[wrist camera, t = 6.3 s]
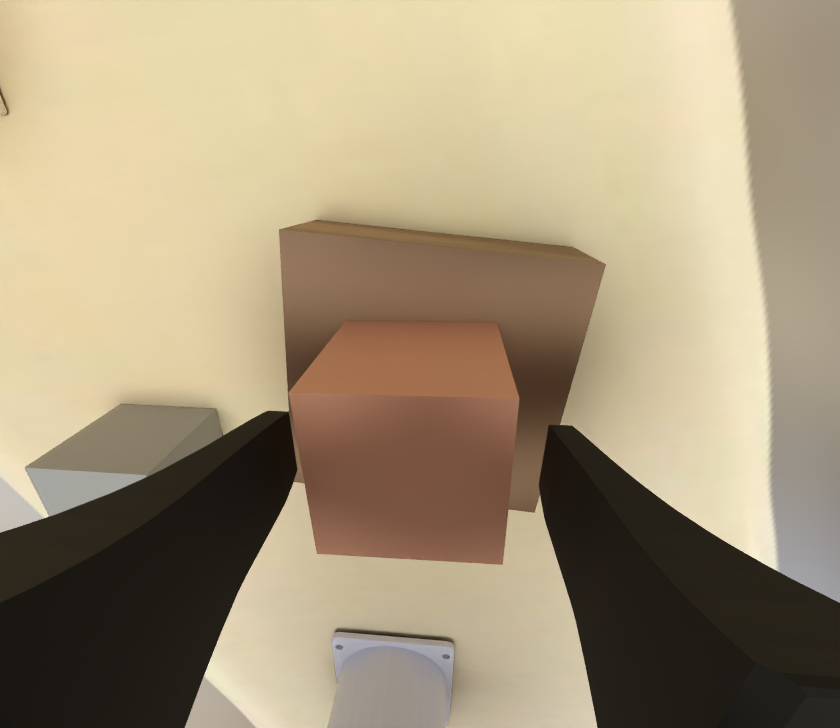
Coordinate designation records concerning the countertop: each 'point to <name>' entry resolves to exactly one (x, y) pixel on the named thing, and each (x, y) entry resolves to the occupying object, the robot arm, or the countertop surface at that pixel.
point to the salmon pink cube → (409, 441)
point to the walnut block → (447, 309)
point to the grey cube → (119, 452)
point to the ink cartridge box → (2, 108)
